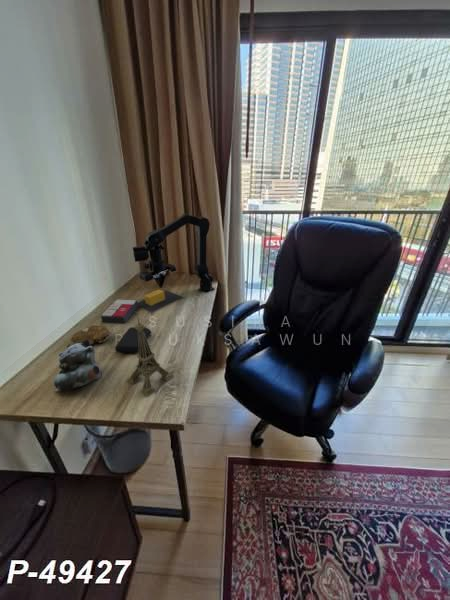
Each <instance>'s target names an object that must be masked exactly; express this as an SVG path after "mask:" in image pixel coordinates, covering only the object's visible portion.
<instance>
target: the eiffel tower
mask: <svg viewBox="0 0 450 600" xmlns="http://www.w3.org/2000/svg"><path fill="white" fill-rule="evenodd" d="M136 319H137V324H135V325H134V326H135V329H137V330H138V343H139V351H138V354H136V355H137V356H136V358H137V359H138V363H137V365H135V366H136V369H135V370H134V371H133V372H132V374H131V375H130V377H129V378H128V379H127V382H129V383H130V384H132V385H133V384H135V383H136V382H138V381H139V380H140V376H141V375H142V376H143V377H144V378H145V379H144V383H143V386H142V389H141V393H142V394H143V395H144V396H145V397H148V396H150V395H151V394H152V393H154V392H155V390H154V388H153V387H152V382H151V379H150V378H151V376H152V375H153V374H154V373H156V372H157V373H159V374H160V375H161V378H162V379H163V380H165V381H166V382H168V381H170V380H171V379H172V378H174V377H175V375H174V374H172V373H171V372H169V371H167V370H166V369H165V368H163V367H162V366H161V364H160V363H158V362H157V361H156V358H155V357H154V356H155V355H156V354H155V353H154V352H153V351H152V350H151V347H150V345H149V342H148V338H147V339H146V336H145V333H144V331H143V328H146V326H144V324H143V323H142V322H140V319H139V317H138V315H136Z"/></svg>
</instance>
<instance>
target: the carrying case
mask: <svg viewBox="0 0 450 600" xmlns="http://www.w3.org/2000/svg"><path fill="white" fill-rule="evenodd" d="M135 327H136V326H135ZM135 327H129V328H128V329H127V330H126V332H125V333H124V335H123V336H122V337H121V338H120V340H119V341H118V342H117V343H116V345H115V347H114V350H115V351H116V352H118V353H129V354H130V353H131V354H135V353H139V343H138V330H137V329H135ZM143 331H144V333H145V336H146V339H147V340H148V338H149V337H152V330H151V329H150V328H148V327H145V328H143Z"/></svg>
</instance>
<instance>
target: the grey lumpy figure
mask: <svg viewBox="0 0 450 600" xmlns="http://www.w3.org/2000/svg"><path fill="white" fill-rule="evenodd" d="M95 354H96V352H95V347H94V346H93V345H91V344H90V343H89V341H88V340H85V341H84V342H83V343H74V344H73V343H69V344H68V345H67V347H66V348H65V349H64V350H61V351H60V353H58V356H59V358H58V368H59V369H60V370H59V372H58V374H57V375H56V376H55V378H54V380H53V386H54V387H55V390H54V391H53V393H59V392H62V391H68V390H74V389H76V388H79V387H83V386H86V385H87V384H89V383H91V382H93V381H96V380H98V379H100V378H102V376H103V374H102V372H101V369H100V367H99V366H98V364H97V362H96V355H95Z"/></svg>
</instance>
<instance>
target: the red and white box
mask: <svg viewBox="0 0 450 600" xmlns="http://www.w3.org/2000/svg"><path fill="white" fill-rule="evenodd" d="M138 303H139V302H138V300H133V299H116V300H115V301H114V302H113V303H112V304H111V305H110V306H109V307H108V308H107V309H106V310H105V311H104V312H103V313H102V314H101V315H100V318H101V321H102V323H114V324H116V323H117V324H125V323H126V322H127V321H128V319H130V317H131V316H132V315H133V313H134V312H135V311H136V310H137V309H138V308H139V307H140V306H138Z"/></svg>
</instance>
